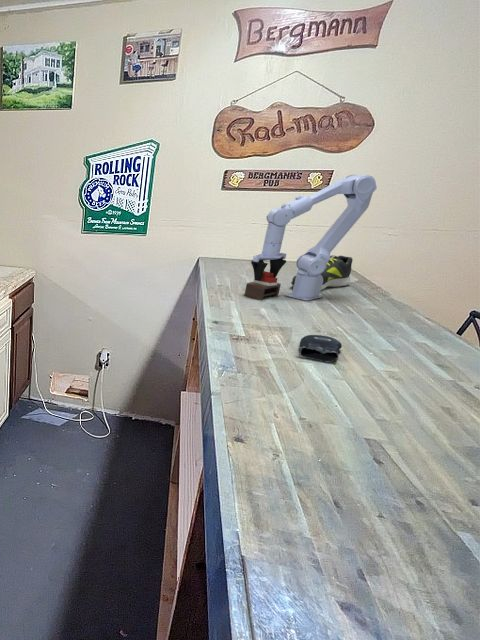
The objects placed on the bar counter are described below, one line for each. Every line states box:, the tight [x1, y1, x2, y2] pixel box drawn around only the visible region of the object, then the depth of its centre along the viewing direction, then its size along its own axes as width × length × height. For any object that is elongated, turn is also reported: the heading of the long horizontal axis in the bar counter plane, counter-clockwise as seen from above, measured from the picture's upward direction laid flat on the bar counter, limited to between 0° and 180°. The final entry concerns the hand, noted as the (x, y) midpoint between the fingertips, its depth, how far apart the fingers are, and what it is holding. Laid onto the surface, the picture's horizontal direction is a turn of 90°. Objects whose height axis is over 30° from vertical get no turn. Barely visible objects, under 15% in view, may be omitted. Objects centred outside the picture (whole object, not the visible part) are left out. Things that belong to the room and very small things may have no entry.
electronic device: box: [297, 334, 343, 363], centre depth 123 cm, size 9×6×15 cm
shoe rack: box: [244, 281, 282, 301], centre depth 174 cm, size 10×7×5 cm
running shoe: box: [290, 254, 353, 291], centre depth 185 cm, size 11×30×13 cm, turn 115°
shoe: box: [252, 270, 279, 286], centre depth 172 cm, size 7×4×4 cm, turn 22°
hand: (264, 279), depth 172 cm, fingers open, 7 cm apart
